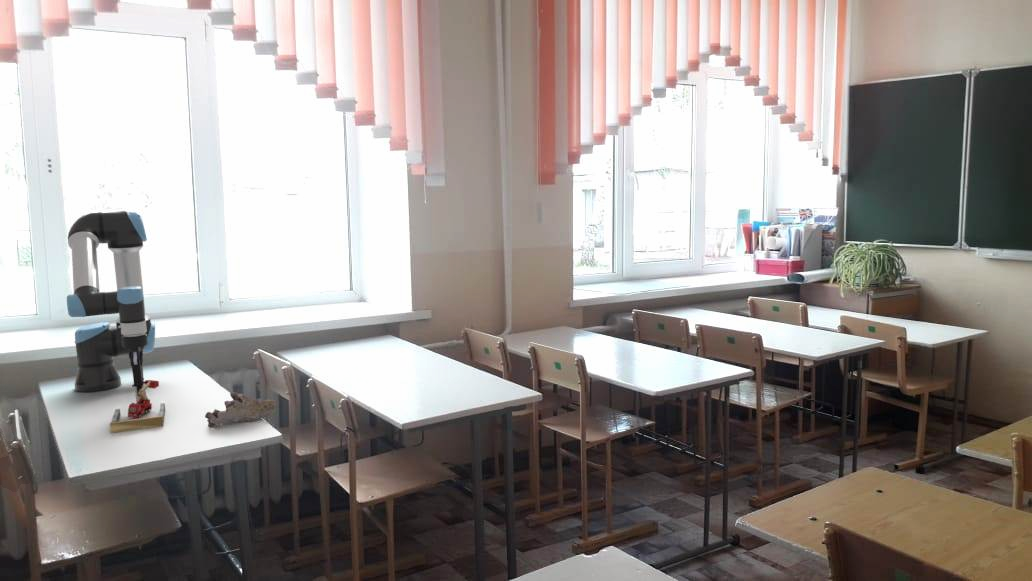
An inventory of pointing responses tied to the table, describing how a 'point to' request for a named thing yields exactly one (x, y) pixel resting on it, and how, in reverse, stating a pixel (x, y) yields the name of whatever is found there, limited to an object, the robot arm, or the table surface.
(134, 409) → the toy fire truck
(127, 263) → the robot arm
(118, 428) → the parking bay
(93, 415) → the table surface
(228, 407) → the mineral specimen
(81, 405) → the table surface
